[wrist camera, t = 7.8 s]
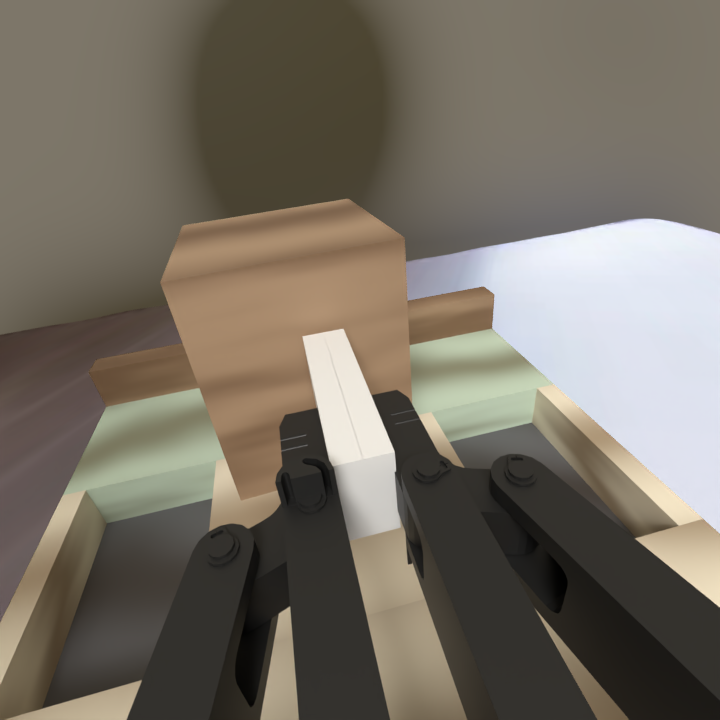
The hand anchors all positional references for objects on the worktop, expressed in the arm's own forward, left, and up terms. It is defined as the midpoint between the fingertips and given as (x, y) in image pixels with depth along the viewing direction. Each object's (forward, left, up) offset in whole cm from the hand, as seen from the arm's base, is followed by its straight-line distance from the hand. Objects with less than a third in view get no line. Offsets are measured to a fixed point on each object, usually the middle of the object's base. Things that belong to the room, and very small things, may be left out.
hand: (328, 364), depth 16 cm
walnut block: (-4, +1, -6) cm, 7 cm away
